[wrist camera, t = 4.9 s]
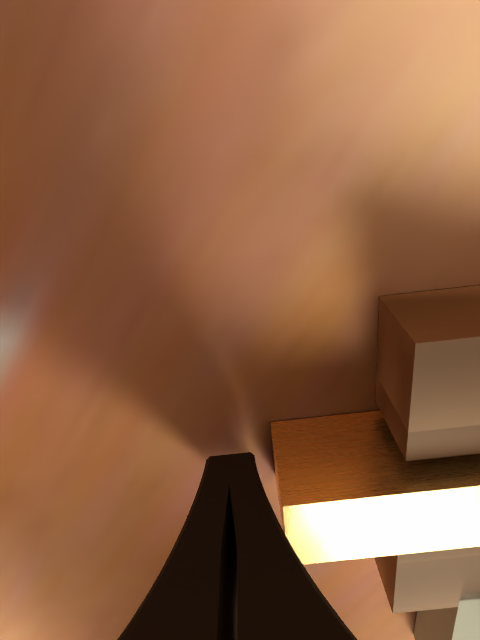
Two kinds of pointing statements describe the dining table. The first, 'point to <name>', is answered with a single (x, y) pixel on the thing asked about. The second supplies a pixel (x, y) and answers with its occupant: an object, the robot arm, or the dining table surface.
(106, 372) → the dining table surface
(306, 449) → the brown rectangular block
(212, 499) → the robot arm
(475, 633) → the rack
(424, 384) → the socket block
